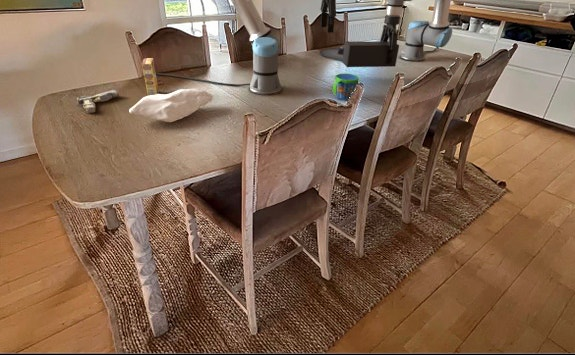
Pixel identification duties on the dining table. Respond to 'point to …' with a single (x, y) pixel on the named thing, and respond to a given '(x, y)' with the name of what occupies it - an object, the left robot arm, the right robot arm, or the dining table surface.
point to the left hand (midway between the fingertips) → (326, 29)
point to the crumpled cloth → (171, 104)
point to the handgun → (95, 100)
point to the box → (368, 54)
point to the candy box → (150, 76)
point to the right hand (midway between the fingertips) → (385, 60)
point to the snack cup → (344, 85)
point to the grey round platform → (333, 53)
